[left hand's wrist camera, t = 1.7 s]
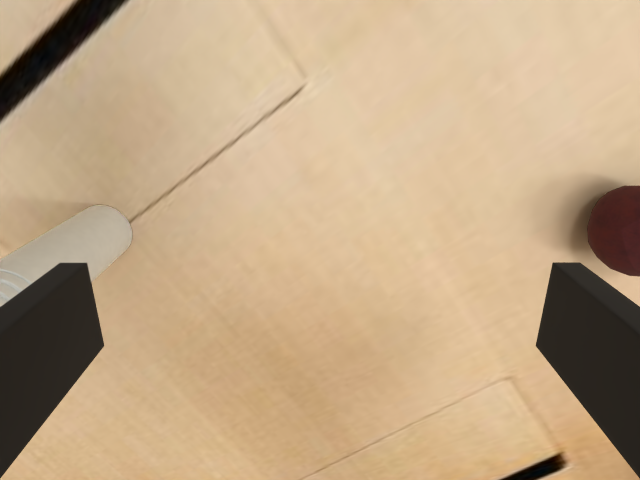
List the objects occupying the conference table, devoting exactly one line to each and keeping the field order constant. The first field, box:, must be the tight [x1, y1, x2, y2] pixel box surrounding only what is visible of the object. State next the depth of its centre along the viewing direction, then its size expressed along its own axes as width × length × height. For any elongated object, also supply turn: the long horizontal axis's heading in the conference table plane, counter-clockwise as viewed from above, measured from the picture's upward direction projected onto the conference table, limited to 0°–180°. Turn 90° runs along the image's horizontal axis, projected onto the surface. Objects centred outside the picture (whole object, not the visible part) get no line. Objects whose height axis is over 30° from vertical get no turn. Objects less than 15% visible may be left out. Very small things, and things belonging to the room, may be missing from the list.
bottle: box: [0, 205, 132, 307], centre depth 32 cm, size 5×5×20 cm
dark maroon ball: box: [587, 186, 640, 276], centre depth 38 cm, size 7×8×7 cm
